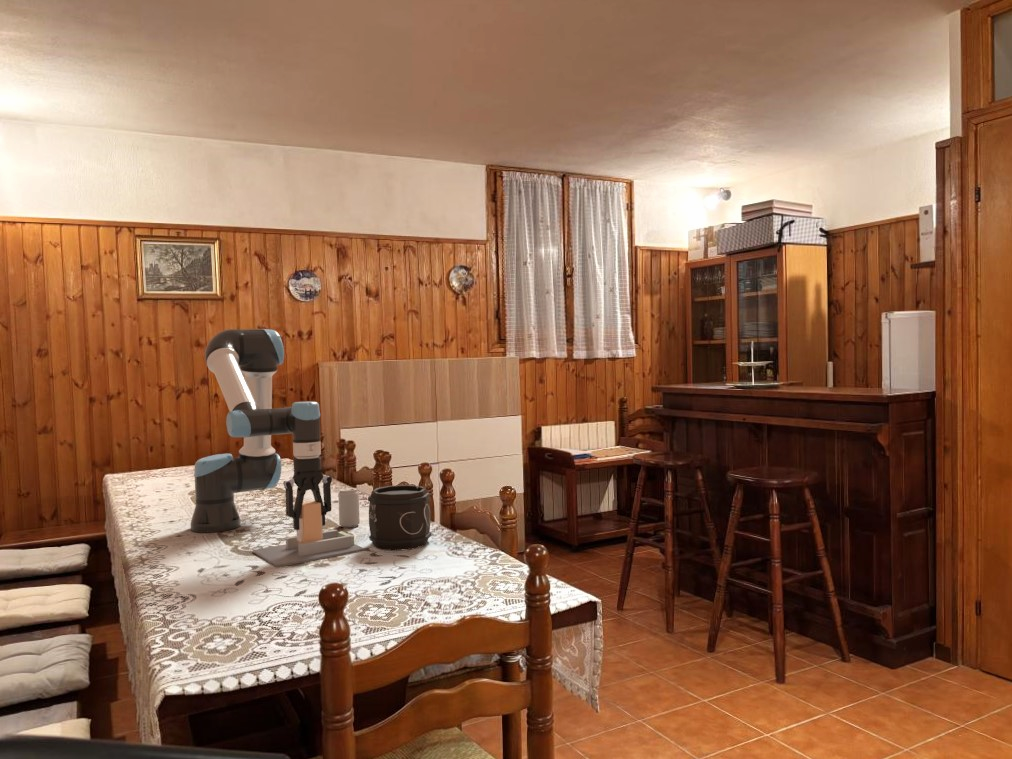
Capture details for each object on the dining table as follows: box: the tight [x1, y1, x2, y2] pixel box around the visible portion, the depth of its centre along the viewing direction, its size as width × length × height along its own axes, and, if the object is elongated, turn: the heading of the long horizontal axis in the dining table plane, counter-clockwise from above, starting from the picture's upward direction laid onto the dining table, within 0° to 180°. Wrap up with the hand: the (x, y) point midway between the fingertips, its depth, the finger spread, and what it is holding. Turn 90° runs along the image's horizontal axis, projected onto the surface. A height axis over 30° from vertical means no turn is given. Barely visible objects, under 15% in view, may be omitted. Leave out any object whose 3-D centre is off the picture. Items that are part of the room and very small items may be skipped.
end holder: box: [252, 529, 366, 568], centre depth 212 cm, size 20×25×4 cm
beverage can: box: [337, 487, 361, 529], centre depth 243 cm, size 6×6×12 cm
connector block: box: [298, 500, 323, 544], centre depth 212 cm, size 5×5×12 cm
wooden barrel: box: [367, 484, 432, 551], centre depth 219 cm, size 18×18×16 cm
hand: (309, 539), depth 212 cm, fingers closed on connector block, 5 cm apart
